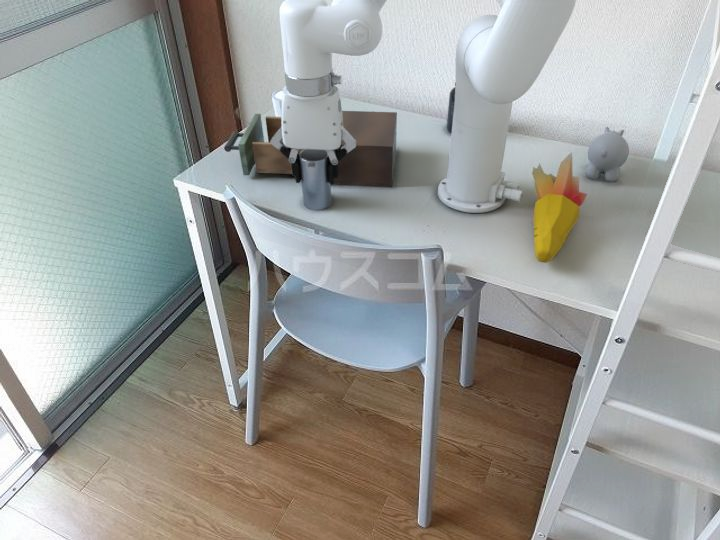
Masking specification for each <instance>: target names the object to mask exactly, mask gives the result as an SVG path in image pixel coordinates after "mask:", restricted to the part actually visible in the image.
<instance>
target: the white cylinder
mask: <svg viewBox="0 0 720 540" xmlns="http://www.w3.org/2000/svg"><path fill="white" fill-rule="evenodd" d="M283 89H284V88H282V89H279V90H275V91H273V92H272V94H271V101H272V106H273V110H274V114H275V117H281V114H282V94H283Z"/></svg>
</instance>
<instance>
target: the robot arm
mask: <svg viewBox="0 0 720 540" xmlns="http://www.w3.org/2000/svg"><path fill="white" fill-rule="evenodd" d="M576 1H577V0H496V2H497V3H498V5H499V6H500V8H501V9H500V11H499V13H498V15H496V14H483V15H481V16H478V17H476V18H474V19H472V20H471V21H470V22H468V24H467V25H466V26H465V27H464V28H463V30H462V31H461V33H460V35H459V38H458V40H457V44H456V50H455V82H456V87H455V86H454V87H455V103H454V114H453V123H452V134H451V133H450V134H451V136H450V145H449V155H448V167H447V176H446V177H445V178H443V179H442V180H441V181H439V184H438V187H437V196H438V198H439V201H441V202H442V203H443V204H444V205H446V206H447V207H449V208H451V209H454V210H456V211H458V212H459V211H460V212H464V213H473V214H480V213H482V214H483V213H488V212H492V211H494V210H496V209H498V208H500V207H501V206H502V205H503V204H504V203H505V201H506V199H509V200H510V201H511V200H512V201H516V202H521V200H522V197H523V190H520V189H519V187H520V184H519V183H515V182H509V181H507V180H506V179H505V176H506V172H504V171H502V169H503V162H504V157H505V153H506V152H505V151H506V145H507V139H508V134H509V133H508V132H509V125H510V121H511V116H512V115H511V114H512V110H513V109H512V108H513V102H515V101H517V100H518V99H520V98H522V96H524V95H525V94H526V93H527V92H528V91H529V90H531V89H530V88H532V86H533V85H534V83H535V82H536V81H537V79H538V77H539V76H540V74H541V72H542V70H543V68H544V66H545V65H546V63H547V62H548V60H549V57H550V56H551V54H552V53H553V50H554V49H555V47H556V45H557V43H558V42H559V39H560V37H561V36H562V34H563V32H564V30H565V29H566V27H567V25H568V23H569V21H570V20H571V19H570V18H571V16H572V14H573V12H574V9H575V7H576ZM385 3H387V0H332V1H331V4H330V5H329V4H328V3H327V2H326V0H283V2H282V3H281V4H280V6H279V12H278V13H279V14H278V15H279V25H280V36H281V37H280V38H281V44H282V45H281V47H282V56H283V57H282V58H283V66H284V79H285V86H284V87H283V88H282V89H283V94H282V114H281V120H282V126H281V128H280V129H279V130H278V131H277V132H276V133H275V135H274V136H273V137H272V139H271V141H270V143H271V144H272V145H273V146H274V147H275V148H277V149H279V150H280V152H281V153H282V154H283V155H285V156H286V157H287V158H288V159H289V162H290V163H291V164H292V174H291V175H292V177H295V183H296V184H300V183H302V180H301V169H300V159H299V154H298V153H299V149H312V150H326V151H327V154H328V156H329V158H330V161H329V165H328V170H329V184H331V185H333V184H334V180H335V178H338V162H339V161H340V160H341V159H342V158H343V157H344V156H345V155H346V154H347V153H348V152H350V151H351V150H353V149H354V148H355V147H356V144H357V141H356V140H355V139H354V138H353V137H352V136H351V135H350V133H349V132H348V131H347V130H346V129H345V128H344V127H343V116H342V111H343V108H342V101H341V96H340V91H339V88H338V86H337V85H342V81H343V80H342V75H339V74H336V73H335V72H334V69H333V59H332V58H333V56H332V55H333V54H339V55H345V56H353V57H360V56H364V55H365V56H366V55H368V54H370V53H372V52H373V51H374V50H376V48H377V47H378V46H379V44H380V42H381V40H382V37H383V23H382V19H381V16H380V12H381V10H382V9H383V7H384V5H385ZM281 139H283V141H282V140H281ZM341 139H342V140H343V141H344V142H345V143H346V144H345V145H343V146H342V147H340V145H341ZM339 147H340V148H339ZM338 148H339V149H338ZM333 186H334V185H333Z"/></svg>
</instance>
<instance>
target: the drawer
mask: <svg viewBox="0 0 720 540" xmlns="http://www.w3.org/2000/svg"><path fill="white" fill-rule="evenodd" d="M265 125H266V132H267V133H266V134H267V140H268V141H265V136H264V129H263V122H262V114H261V113H254V115H253V117H252V118H251V120H250V122H249V124H248V126H247V127H246V129H245V130H244V132H239V131H238V130H233V131H232V133H231V135H230V137H229V139H228V140H227V141H226V143H225V144H224V147H223V148H224V151H225V152H227V153H230V152H231V151H238V152H239V158H240V163H241V169H242V175H243V176H250V174H251V172H252V171H253V169H254V166H255V172H256V174H257V173H258V174H279V175H280V174H281V175H282V174H283V175H293V174H292V164H291V163H290V162H289V159H288V158H287V157H286V156H285V155H283V154H282V153H281V152H280V150H279V149H277V148H275V147H274V146H273V145H272V144H271V143H270V141H271V139H272V137H273V136H274V135H275V133H276V132H277V131H278V130H279V129H280V128H281V126H282V120H281V117H276V116H269V115H267V116H265ZM239 138H240V139H239ZM238 139H239V142H238V144H237V145H235V144H236V142H237V141H238ZM281 140H282V141H283V139H281ZM302 150H304V149H299V153H298V154H300V152H301V151H302Z"/></svg>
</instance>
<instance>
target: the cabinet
mask: <svg viewBox="0 0 720 540" xmlns="http://www.w3.org/2000/svg"><path fill="white" fill-rule="evenodd" d="M342 116H343V127H344V128H345V129H346V130H347V131H348V132H349V133H350V135H351V136H352V137H353V138H354V139H355V140H356V141H357V144H356V147H355V148H354V149H353V150H351V151H350V152H348V153H347V154H346V155H345V156H344V157H343V158H342V159H341V160H340V161H339V162H338V178H335V180H334V184H333V186H335V185H337V186H360V187H384V188H385V187H386V188H393V181H394V172H395V163H396V153H397V130H398V129H397V128H398V127H397V124H398V112H396V111H395V112H394V111H366V110H365V111H362V110H361V111H360V110H342ZM345 144H346V143H345V142H344V141H343V140H342V139H341V145H340V147H342V146H343V145H345ZM340 147H339V148H340ZM339 148H338V149H339ZM329 161H330V158H329Z"/></svg>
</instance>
